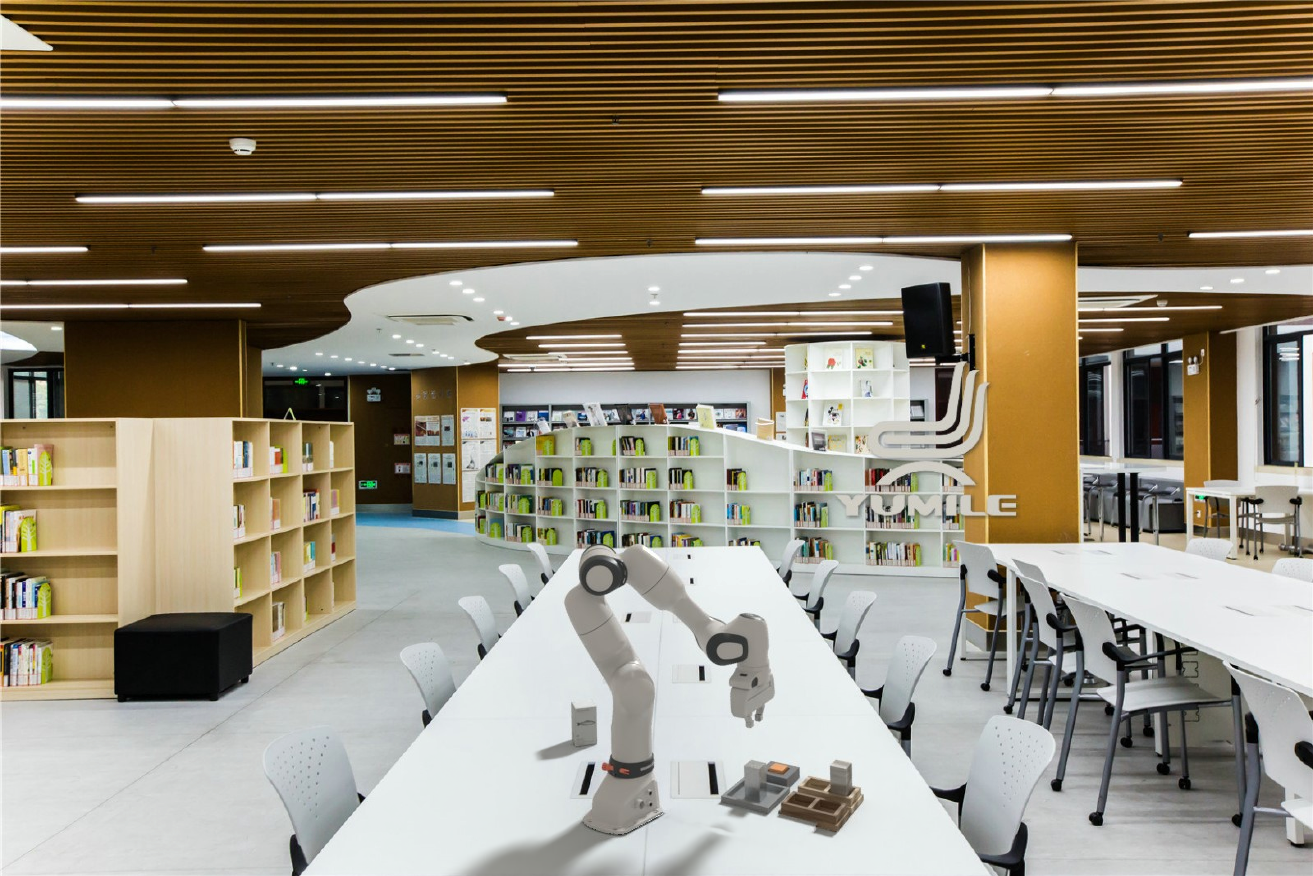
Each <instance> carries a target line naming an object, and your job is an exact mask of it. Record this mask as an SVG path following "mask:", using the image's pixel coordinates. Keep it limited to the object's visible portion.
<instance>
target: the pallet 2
mask: <svg viewBox="0 0 1313 876" xmlns="http://www.w3.org/2000/svg"><path fill="white" fill-rule="evenodd" d="M777 811H778V812H777V813H778V814H781V815H785V816H787V817H791V818H796V819H799V820H803V821H807V822H811V823H815V824H816V825H815V827H816V828H821V829H823V830H827V829H829V830H828V831H831V830H832V831H831V832H835V831H836V833H838V832H837V831H839V830H840V829H841V828H842V827H843V826H842V825H844V824H845V823H846V822H847V821H846V820H848V819H850V818H851V817H850V816H851V814H850V811H849V810H847V804H846V803H841V802H837V801H833V800H829V799H825V798H821V797H817V796H812V795H808V794H804V793H800V792H798V791H795V790H793V791H791V792H790V794H789V795H788V796H787V797H785V798H784V799H783V800H782V801H781V802H780V808H779V810H777Z"/></svg>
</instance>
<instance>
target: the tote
mask: <svg viewBox="0 0 1313 876" xmlns="http://www.w3.org/2000/svg"><path fill="white" fill-rule="evenodd" d="M790 793H791V787H785V786H781V785H777V784H773V783H769V782H767V796H766V797H765V798H764V799H763V800H762V801H761V802H756V801H752V800H749V799H745V787H744V776H743V777H741V779H740V780H739V781H737V782H736V783H734V785H733V786H731V787H730V788H728V790H726V791H725V792H723V794H721V795H720V802H721V803H724V804H728V805H732V806H737V807H739V808H744V809H748V810H751V811H756V812H759V813H764V814H767V815H769V814H770V813H771V812H772V811H773V810H775V808H776V807H777V806H778V805H780V804H781V802H782V801H783V800H784V799H785V798H786V797H787V796H788V795H789V794H790Z"/></svg>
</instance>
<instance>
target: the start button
mask: <svg viewBox="0 0 1313 876" xmlns="http://www.w3.org/2000/svg"><path fill="white" fill-rule="evenodd" d="M787 771H788V766H786V765H781V764H777V763H775V764H774V765H772V766H771V767H770V768H769V772H774V773H778V774H782V775H783V774H785V773H786V772H787Z"/></svg>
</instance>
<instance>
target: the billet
mask: <svg viewBox="0 0 1313 876" xmlns="http://www.w3.org/2000/svg"><path fill="white" fill-rule="evenodd" d="M766 765H767V762H763V761H759V760H754V759H750V760H749V761H747V762H746V763H745V764H744V765H743V774H744V775H743V777H744V787H745V799H749V800H752V801H756V802H761V801H762V800H763V799H764V798H765V797H766V796H767V777H766Z"/></svg>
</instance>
